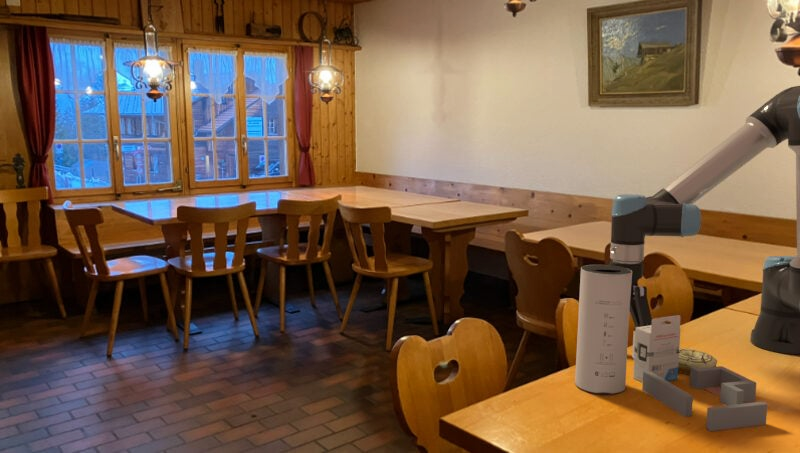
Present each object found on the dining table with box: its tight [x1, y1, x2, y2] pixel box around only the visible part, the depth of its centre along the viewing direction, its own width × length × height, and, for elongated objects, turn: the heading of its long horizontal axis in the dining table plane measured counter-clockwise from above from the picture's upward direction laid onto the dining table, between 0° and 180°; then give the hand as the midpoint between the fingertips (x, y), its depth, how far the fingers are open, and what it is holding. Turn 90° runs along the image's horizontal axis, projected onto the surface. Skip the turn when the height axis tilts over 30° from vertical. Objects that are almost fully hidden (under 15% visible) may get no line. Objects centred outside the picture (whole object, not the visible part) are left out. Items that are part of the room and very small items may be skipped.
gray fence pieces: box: [641, 365, 768, 432], centre depth 137 cm, size 18×21×4 cm
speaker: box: [574, 264, 632, 396], centre depth 145 cm, size 11×10×26 cm
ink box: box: [632, 314, 681, 383], centre depth 150 cm, size 9×5×15 cm, turn 114°
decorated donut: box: [678, 348, 718, 375], centre depth 157 cm, size 10×11×4 cm
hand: (622, 348), depth 163 cm, fingers open, 13 cm apart
